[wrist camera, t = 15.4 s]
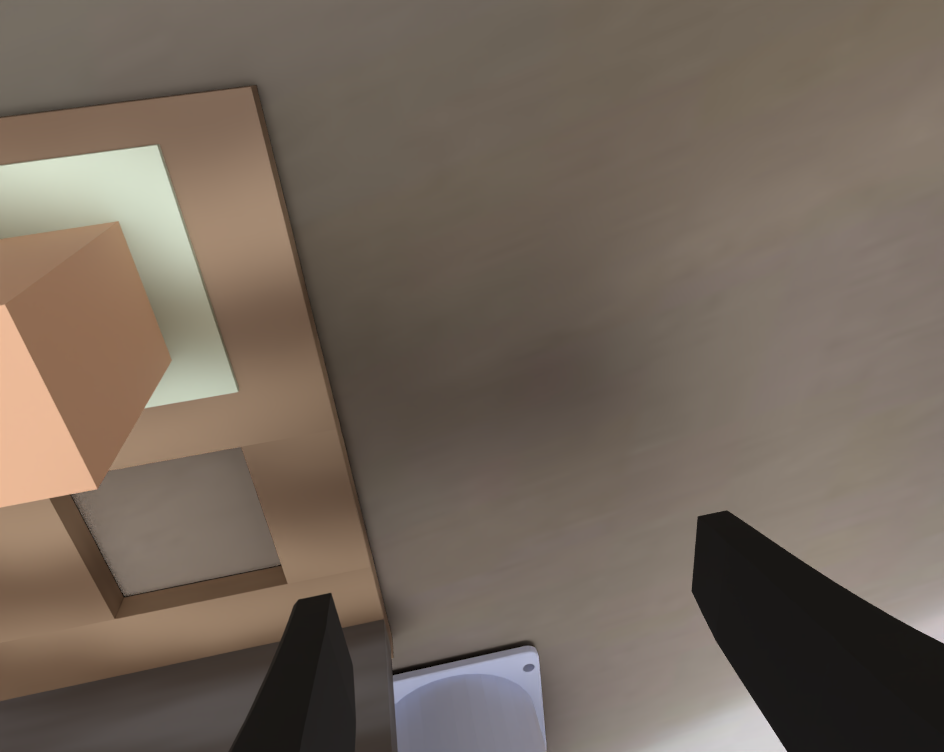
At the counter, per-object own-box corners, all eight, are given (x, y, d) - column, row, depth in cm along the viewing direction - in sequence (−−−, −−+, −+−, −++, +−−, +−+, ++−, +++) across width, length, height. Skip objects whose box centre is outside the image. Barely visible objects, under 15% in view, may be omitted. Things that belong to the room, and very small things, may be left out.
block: (171, 360, 18) (97, 489, 13) (24, 386, 17) (-116, 529, 12) (118, 221, 16) (4, 304, 11) (-48, 246, 16) (-251, 345, 10)
